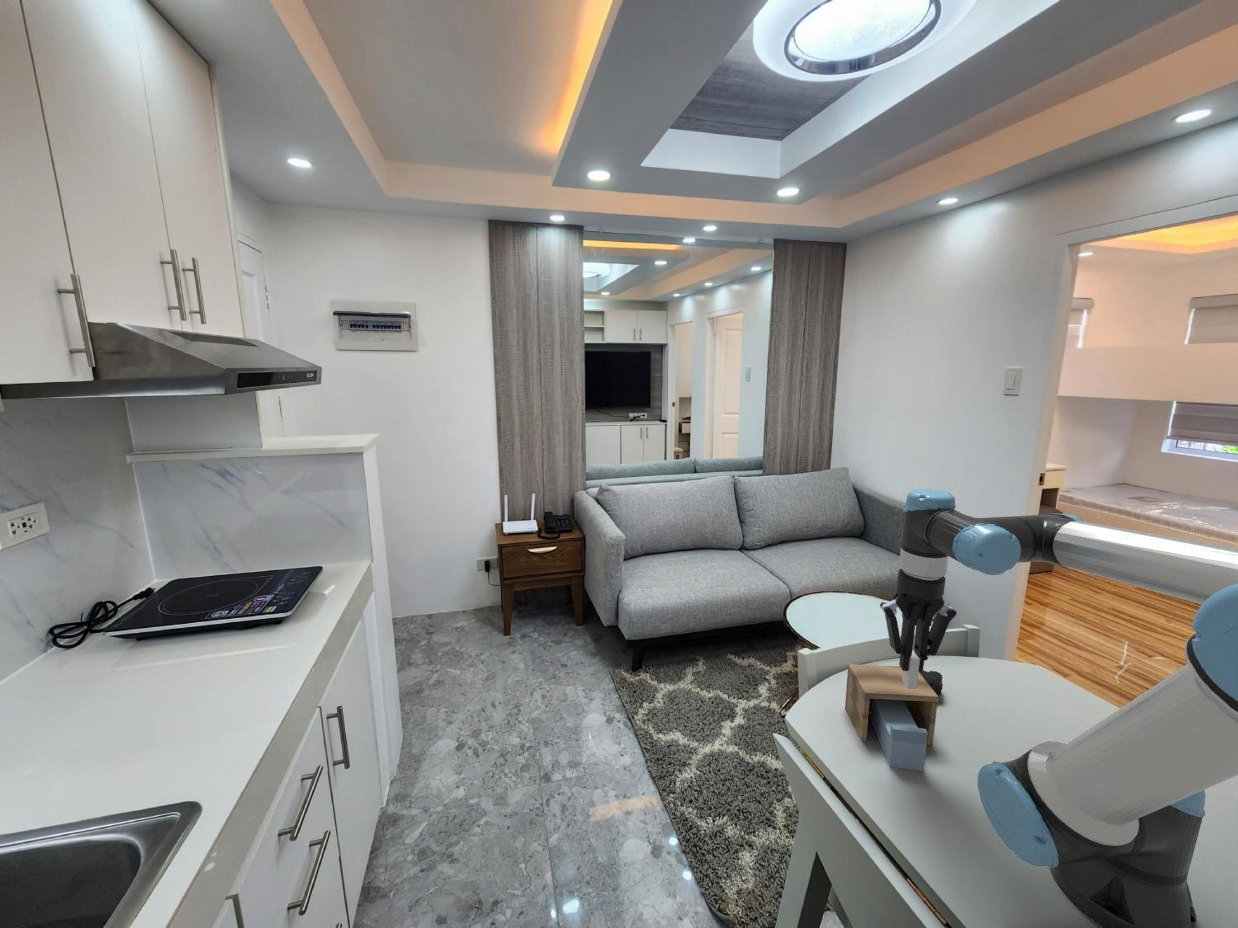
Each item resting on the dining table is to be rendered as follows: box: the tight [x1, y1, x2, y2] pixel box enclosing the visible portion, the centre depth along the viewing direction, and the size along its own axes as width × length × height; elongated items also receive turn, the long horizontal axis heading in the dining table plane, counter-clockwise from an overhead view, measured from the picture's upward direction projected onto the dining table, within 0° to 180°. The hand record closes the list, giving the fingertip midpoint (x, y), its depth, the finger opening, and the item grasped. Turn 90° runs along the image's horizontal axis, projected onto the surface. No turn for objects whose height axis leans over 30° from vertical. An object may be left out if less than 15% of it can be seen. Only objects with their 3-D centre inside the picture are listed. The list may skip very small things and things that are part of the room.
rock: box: [918, 669, 944, 697], centre depth 115 cm, size 10×9×6 cm
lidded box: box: [869, 699, 928, 772], centre depth 101 cm, size 14×6×8 cm, turn 167°
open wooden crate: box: [844, 663, 939, 746], centre depth 106 cm, size 10×14×11 cm
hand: (909, 684), depth 96 cm, fingers closed
